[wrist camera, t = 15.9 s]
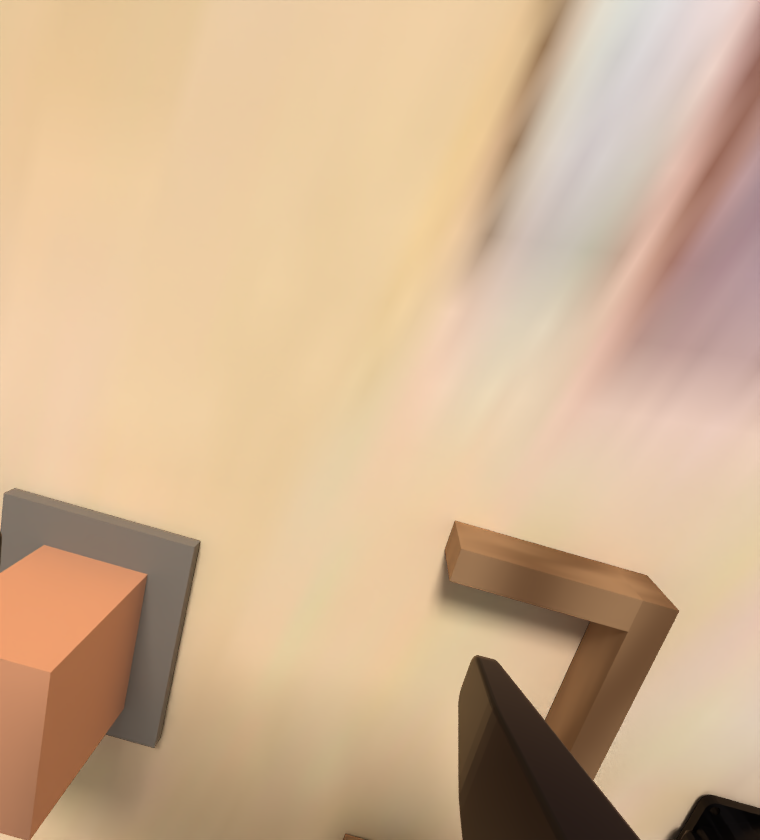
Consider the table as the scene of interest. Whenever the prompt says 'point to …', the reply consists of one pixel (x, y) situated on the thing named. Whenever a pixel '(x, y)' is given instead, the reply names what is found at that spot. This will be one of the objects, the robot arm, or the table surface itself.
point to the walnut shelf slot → (584, 598)
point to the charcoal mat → (129, 548)
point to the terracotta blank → (59, 673)
